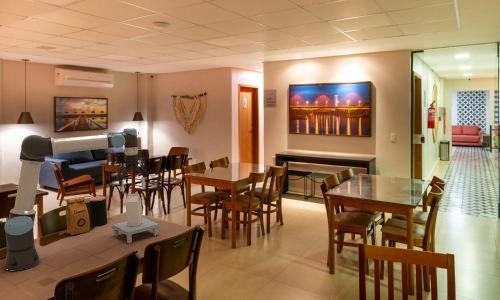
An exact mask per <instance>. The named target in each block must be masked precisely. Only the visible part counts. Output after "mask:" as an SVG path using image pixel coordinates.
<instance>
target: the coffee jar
mask: <svg viewBox="0 0 500 300" xmlns="http://www.w3.org/2000/svg"><path fill="white" fill-rule="evenodd" d="M106 199H107V198H106V196H104V195H102V196H101V195H100V196H98V195H97V196H93V197H90V198H88V201H89V202H88V207H89V208H88V209H89V220H90V226H91V227H101V226H105V225H106V224H107V223H108V212H107V211H108V210H107V200H106Z"/></svg>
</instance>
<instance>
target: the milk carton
mask: <svg viewBox="0 0 500 300" xmlns="http://www.w3.org/2000/svg"><path fill="white" fill-rule="evenodd" d="M125 214H126V221H127V226H139V225H140V224H141V223H142V218H143V207H142V198H141V196H140V193H127V196H126V199H125Z"/></svg>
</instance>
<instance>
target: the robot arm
mask: <svg viewBox="0 0 500 300" xmlns="http://www.w3.org/2000/svg"><path fill="white" fill-rule="evenodd" d="M137 131H138V130H137V129H136V128H133V127H132V128H130V127H129V128H123V130H122V131H120V132H119V131H118V132H103V133H102V134H96V135H87V136H85V135H84V136H83V135H82V136H72V137H60V138H53V137H52V136H49V137H43V136H41V135H37V134H29V135H28V136H26V137H25V138H24V139H23V140H22V141H21V145H20V154H19V158H18V159H19V161H20V162H21V169H20V174H19V179H18V185H17V190H16V191H17V192H16V196H15V201H14V202H15V203H14V207H13V208H11V209H10V211H9V216H8V219H7V220H6V221H5V223H4V231H5V241H6V252H7V253H6V256H5V260H4V263H3V268H5V269H8V270H20V271H22V270H21V269H25V270H27V269H26V268H29V269H31V268H34V267H35V265H36V266H38V265H39V264H40V263H41V262H40V261H41V258H40V255H39V253H38V251H37V249H36V247H35V245H36V244H35V234H34V227H35V226H34V225H35V219H36V214H37V213H36V210H35V209H34V206H35V202H36V201H35V200H36V196H37V195H36V194H37V189H38V184H39V179H40V178H39V177H40V172H41V165H43V164H44V163H45V162H46V158H47V157H54V156H56V155H57V154H65V153H66V154H67V153H74V152H75V153H76V152H83V151H93V150H105V149H113V148H114V149H119V148H122V147H124V163H122V162H121V163H120V164H119V168H118V171H117V173H116V175H115V179H114V180H117V181H118V186H119V187H120V192H123V193H124V192H125V186H124V185H125V184H124V180H123V179H124V178H125V176H126V175H127V173H128V172H130V171H134V170H136V171H137V172H138V173H139V175H140V176H141V177H140V178H141V179H140V180H141V188H143V189H145V188H146V183H147V177H148V176H149V175H150V174H149V172H148V170H147V168H146V166H145V165H144V161H143V160H139V154H138V153H139V150H138V149H139V148H138V147H139V146H138V132H137ZM139 166H140V167H139ZM39 262H40V263H39ZM38 263H39V264H38ZM33 266H34V267H33ZM30 267H31V268H30ZM5 269H4V270H5Z"/></svg>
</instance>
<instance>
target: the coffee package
mask: <svg viewBox="0 0 500 300" xmlns="http://www.w3.org/2000/svg"><path fill="white" fill-rule="evenodd" d="M65 218H66V222H65V223H66V231H67V234H69V235H72V236H73V235H79V234H83V233H87V232H90V230H91V224H90V213H89V211H88V208H87V205H86V201H85V197H79V198H74V199H73V198H72V199H67V200H66V207H65Z"/></svg>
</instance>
